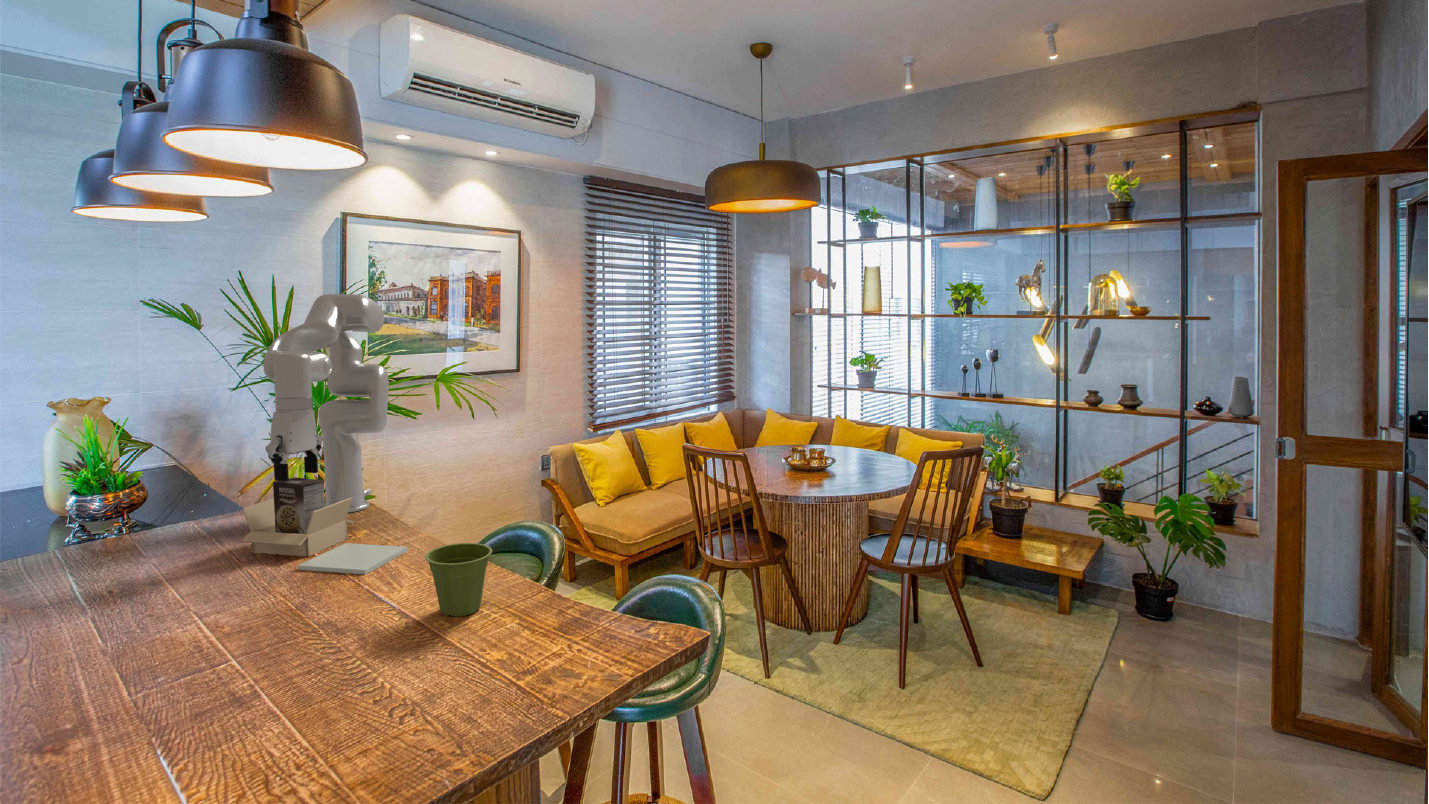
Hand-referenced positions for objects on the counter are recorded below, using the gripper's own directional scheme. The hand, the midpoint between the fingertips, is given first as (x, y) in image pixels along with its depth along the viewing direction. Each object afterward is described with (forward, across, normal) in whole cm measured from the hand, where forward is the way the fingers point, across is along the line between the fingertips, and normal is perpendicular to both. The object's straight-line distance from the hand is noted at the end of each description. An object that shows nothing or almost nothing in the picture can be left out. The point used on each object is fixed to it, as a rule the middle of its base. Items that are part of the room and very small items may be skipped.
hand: (296, 476), depth 165 cm
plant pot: (+18, +28, +56) cm, 65 cm away
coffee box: (+17, -1, 0) cm, 17 cm away
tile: (+18, +6, +19) cm, 26 cm away
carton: (+17, -1, 0) cm, 17 cm away
